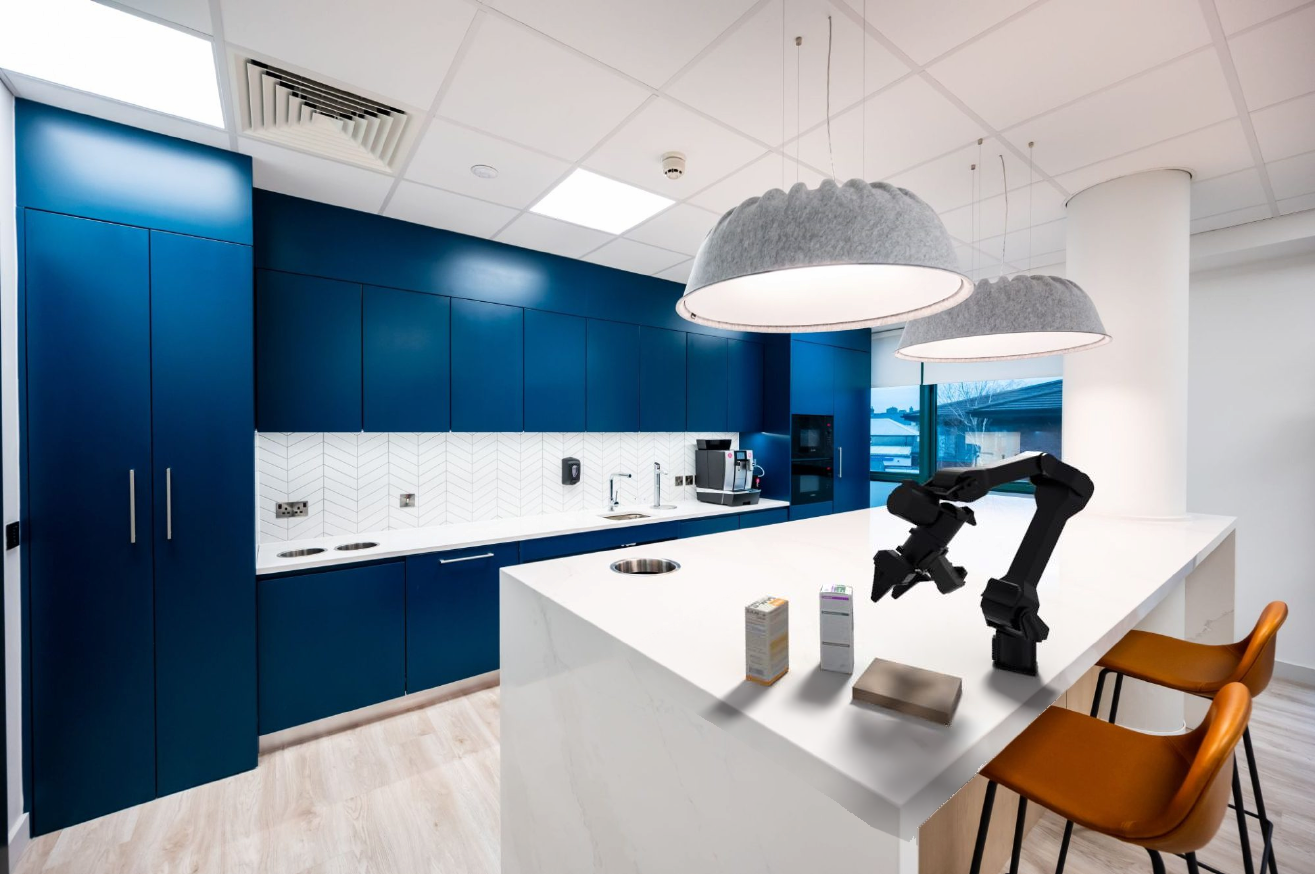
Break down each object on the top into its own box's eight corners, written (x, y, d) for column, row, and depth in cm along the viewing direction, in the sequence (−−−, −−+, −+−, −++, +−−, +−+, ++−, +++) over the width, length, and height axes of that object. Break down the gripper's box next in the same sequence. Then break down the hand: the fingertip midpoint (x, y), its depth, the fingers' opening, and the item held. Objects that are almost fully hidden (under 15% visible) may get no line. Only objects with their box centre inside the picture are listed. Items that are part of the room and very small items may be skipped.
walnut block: (961, 692, 91) (961, 677, 91) (948, 729, 80) (948, 713, 80) (875, 670, 99) (875, 657, 99) (852, 701, 88) (852, 686, 88)
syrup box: (853, 674, 97) (853, 594, 97) (819, 669, 99) (819, 590, 99) (854, 662, 102) (854, 585, 102) (821, 657, 104) (821, 582, 104)
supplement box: (766, 663, 102) (766, 594, 101) (789, 670, 99) (789, 599, 98) (743, 679, 95) (743, 605, 95) (768, 687, 92) (768, 610, 92)
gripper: (958, 564, 85) (900, 638, 89) (990, 562, 97) (938, 626, 102) (898, 520, 92) (847, 590, 96) (936, 524, 105) (889, 585, 109)
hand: (883, 599), depth 101 cm, fingers open, 9 cm apart
